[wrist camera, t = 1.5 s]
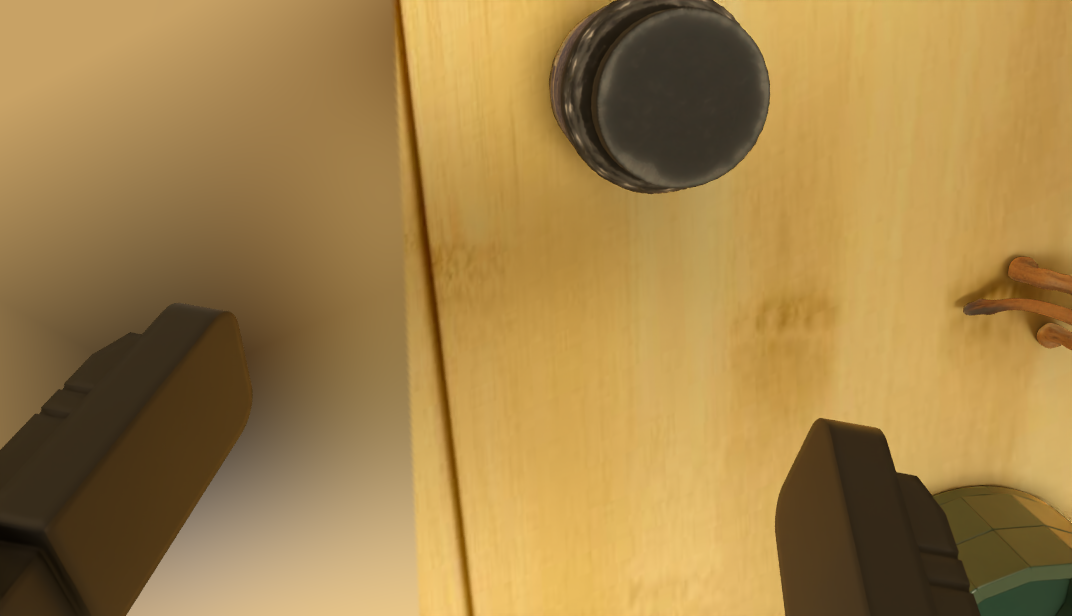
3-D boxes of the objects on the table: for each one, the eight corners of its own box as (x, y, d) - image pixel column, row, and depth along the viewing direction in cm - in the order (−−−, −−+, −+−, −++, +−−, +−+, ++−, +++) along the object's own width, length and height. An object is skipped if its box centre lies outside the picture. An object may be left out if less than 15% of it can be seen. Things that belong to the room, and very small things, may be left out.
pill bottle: (574, 179, 31) (603, 244, 20) (528, 34, 29) (535, 23, 18) (714, 133, 30) (818, 174, 20) (677, -19, 28) (771, -61, 18)
